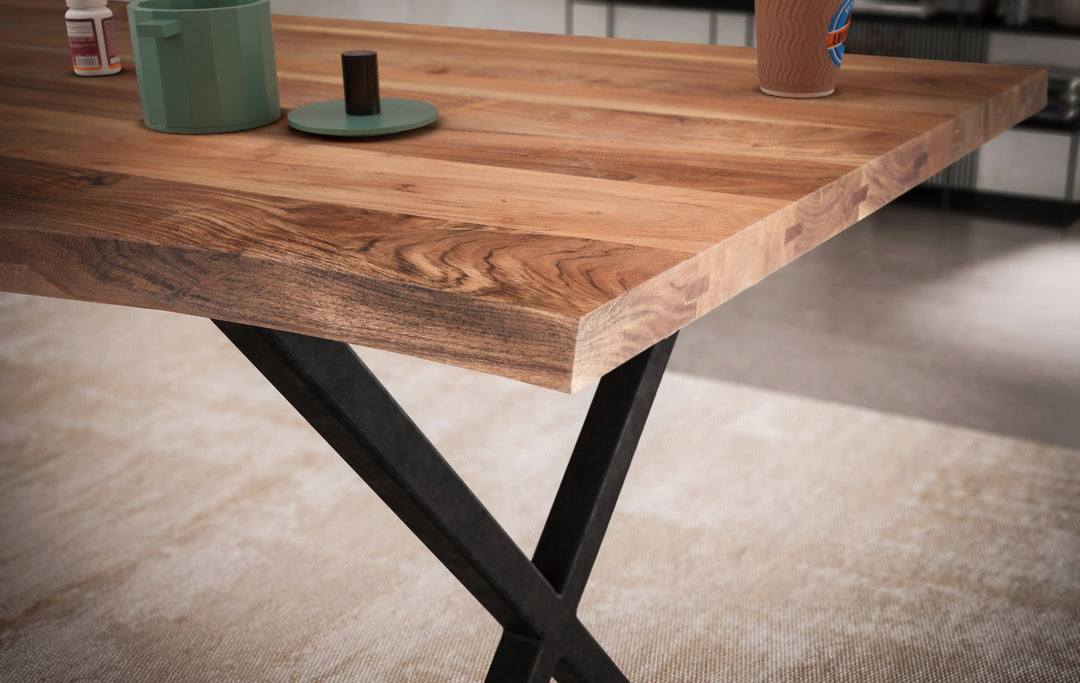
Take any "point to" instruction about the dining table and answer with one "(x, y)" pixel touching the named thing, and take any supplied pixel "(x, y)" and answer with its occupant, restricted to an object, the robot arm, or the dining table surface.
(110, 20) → the pill bottle
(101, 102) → the dining table surface
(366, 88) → the lid
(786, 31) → the coffee cup
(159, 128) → the pot
